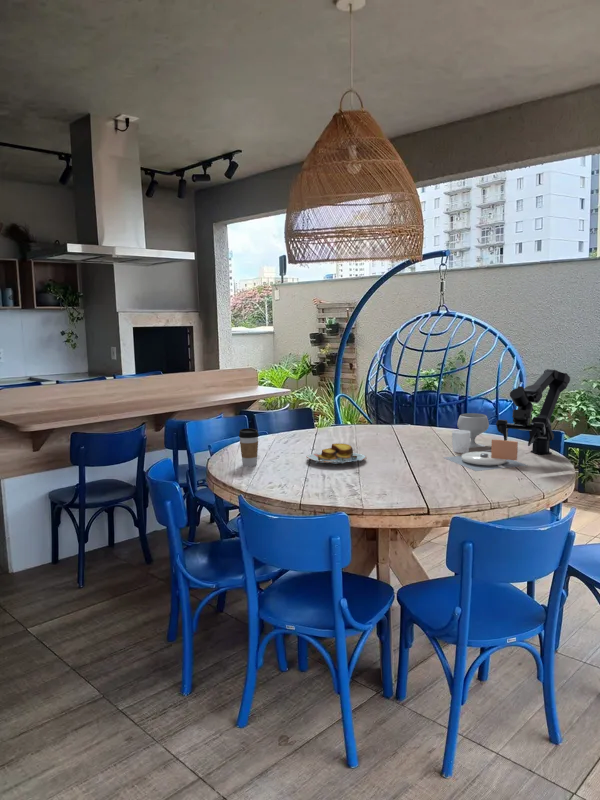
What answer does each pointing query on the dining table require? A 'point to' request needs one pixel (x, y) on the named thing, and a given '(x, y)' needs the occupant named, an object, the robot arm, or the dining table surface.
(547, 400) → the robot arm
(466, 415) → the chalice
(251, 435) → the coffee cup
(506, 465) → the board
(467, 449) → the white cup
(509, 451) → the dial
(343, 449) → the food on plate
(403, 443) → the dining table surface
